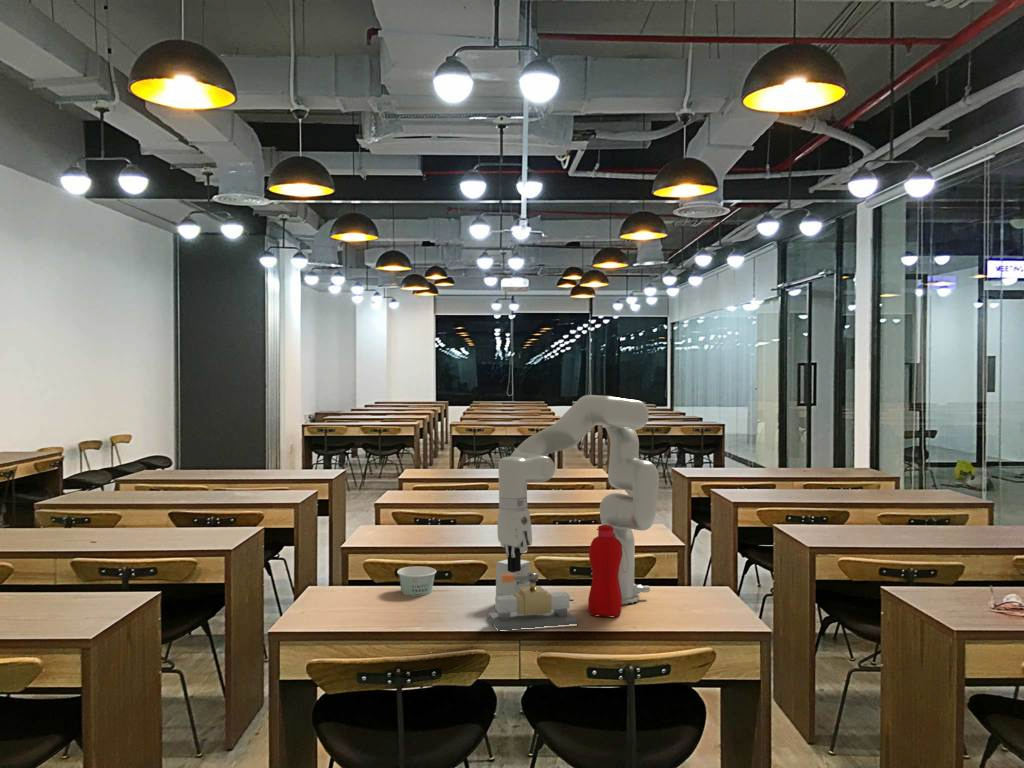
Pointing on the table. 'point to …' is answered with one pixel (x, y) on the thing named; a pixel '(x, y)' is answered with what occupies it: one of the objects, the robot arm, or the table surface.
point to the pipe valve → (532, 602)
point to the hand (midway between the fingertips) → (514, 570)
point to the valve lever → (519, 577)
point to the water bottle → (605, 573)
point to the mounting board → (531, 620)
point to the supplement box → (510, 587)
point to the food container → (416, 580)
